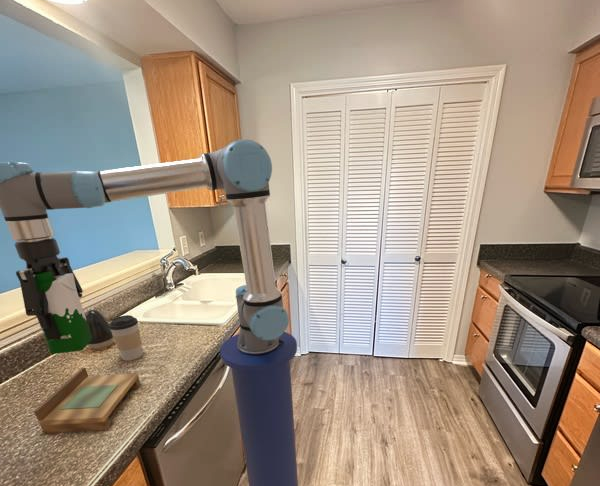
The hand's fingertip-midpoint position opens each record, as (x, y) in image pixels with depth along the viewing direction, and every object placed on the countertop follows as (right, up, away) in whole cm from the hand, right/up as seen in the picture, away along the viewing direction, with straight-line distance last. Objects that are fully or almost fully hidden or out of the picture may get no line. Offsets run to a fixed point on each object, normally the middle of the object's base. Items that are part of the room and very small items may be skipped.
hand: (67, 330), depth 81 cm
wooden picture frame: (+1, -22, +10) cm, 24 cm away
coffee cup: (-3, -11, +37) cm, 38 cm away
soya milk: (0, -4, +2) cm, 5 cm away
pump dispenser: (-19, -8, +45) cm, 49 cm away
